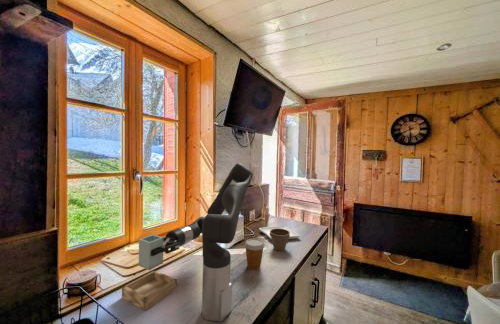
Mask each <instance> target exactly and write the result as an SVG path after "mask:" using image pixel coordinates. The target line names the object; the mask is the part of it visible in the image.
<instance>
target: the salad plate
mask: <svg viewBox="0 0 500 324" xmlns="http://www.w3.org/2000/svg"><path fill="white" fill-rule="evenodd" d="M258 229H259V231H260V232H261V233H262V234H264V235H265V236H267V237H268V238H269V239H270V240H271V241H272V238H271V236H270V230H272V229H285V230H288V231H289V232H290V237H289V238H288V240H293V239H294V240H295V239H298V238H300V237H301V234H299V233H297V232H296V231H295V230H293V229H291V228H290V227H288V226H286V225H279V226H278V225H277V226H276V225H275V226H265V227H259V228H258Z"/></svg>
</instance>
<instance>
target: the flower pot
mask: <svg viewBox="0 0 500 324" xmlns="http://www.w3.org/2000/svg"><path fill="white" fill-rule="evenodd" d="M270 236H271V238H272V240H271V242H272V246H273V249H274V250H275V251H278V252H279V251H280V252H283V251H284V250H286V247H287V244H288V241H289V239H288V238H289V237H290V232H289V231H288V230H285V229H272V230H270Z"/></svg>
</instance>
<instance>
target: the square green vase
mask: <svg viewBox="0 0 500 324" xmlns="http://www.w3.org/2000/svg"><path fill="white" fill-rule="evenodd" d="M163 237H164V236H159V235H157V234H150V235H148V236H144V237H141V238H139V239H138V266H139V267H141V268H143V269H145V270H147V271H150V270H152V269H154V268H156V267H158V266H160V265H162V264H163V263H164V253H159V254H157V255H155V256H151V250H153V249H155V248H158V247H161V246H162V245H163Z"/></svg>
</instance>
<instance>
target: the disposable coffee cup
mask: <svg viewBox="0 0 500 324" xmlns="http://www.w3.org/2000/svg"><path fill="white" fill-rule="evenodd" d="M264 243H265V242H264V240H262V239H259V238H250V239H247V240H245V243H244V247H245V255H246V265H247V266H246V267H247V268H248V269H249V270H251V271H255V270H256V271H257V270H259V269H260V268H261V265H262V258H263V251H264V247H265V244H264Z"/></svg>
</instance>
